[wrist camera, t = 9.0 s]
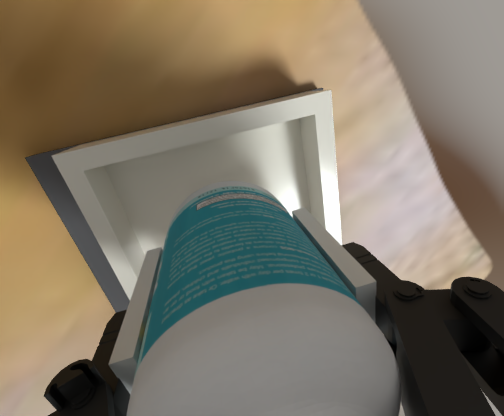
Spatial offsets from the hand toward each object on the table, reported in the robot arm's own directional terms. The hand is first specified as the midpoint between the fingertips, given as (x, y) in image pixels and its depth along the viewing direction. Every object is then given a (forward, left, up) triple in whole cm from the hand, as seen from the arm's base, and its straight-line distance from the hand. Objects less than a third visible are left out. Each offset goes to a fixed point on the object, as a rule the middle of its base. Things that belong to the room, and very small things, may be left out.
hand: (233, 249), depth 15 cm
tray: (0, 0, -4) cm, 4 cm away
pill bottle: (0, 0, -2) cm, 2 cm away
